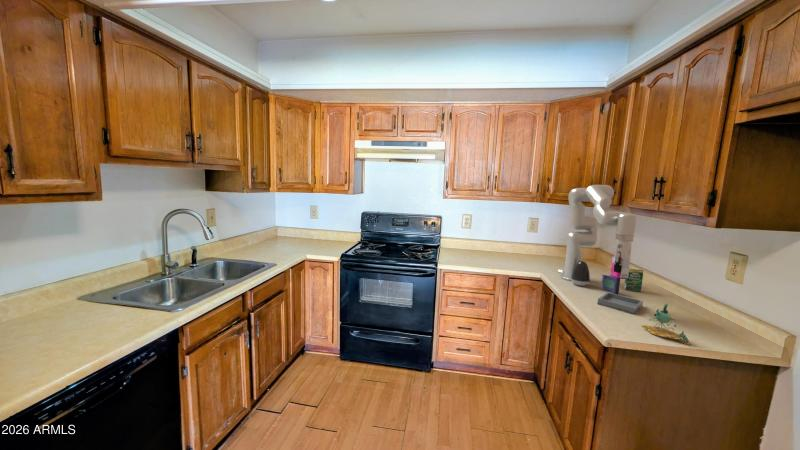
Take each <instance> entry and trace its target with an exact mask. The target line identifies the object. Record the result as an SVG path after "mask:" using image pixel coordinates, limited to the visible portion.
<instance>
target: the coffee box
mask: <svg viewBox="0 0 800 450" xmlns="http://www.w3.org/2000/svg"><path fill="white" fill-rule="evenodd" d="M643 278H644V270H643V269H635V268H629V275H628V279H624V287H623V288H624V290H625V291H630V292H638V293H642V286H643Z"/></svg>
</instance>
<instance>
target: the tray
mask: <svg viewBox="0 0 800 450" xmlns="http://www.w3.org/2000/svg"><path fill="white" fill-rule="evenodd" d="M597 305H599V306H603V307H607V308H611V309H614V310H617V311H620V312H624V313H626V314H628V313H629V314H632V315H636V314H637V313H638V312H639V310H641V308H643V305H644V300H640V299H637V298H633V297H629V296H625V295H621V294H618V295H617V294H613V293H610V292H607V291H606V293H603V295H602V296H600V297H598V299H597Z"/></svg>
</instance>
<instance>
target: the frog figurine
mask: <svg viewBox="0 0 800 450" xmlns="http://www.w3.org/2000/svg"><path fill="white" fill-rule="evenodd" d="M668 306H669V305H668V303H665V304H664V306H663V309H662V310H660V309H656V311H655V313H654V314H653V316H654V317H655V318H654V317H653V316H652V314H649V317H650V318H649V319H648V321H654V322H656V324H655V325H654V324H653V325H648V324H643V325H641V327H643V329H644V330H645V331H647V332H649V333H650V334H653V336H658V337H662V338H669V339H671V340H675V341H676V342H679V343H682V344H684V345H687V346H691V344H690V343H689V342H690V341H689V339H688V337H687V336H686V334H685V332H684V330H683V331H682V332H681V333H677V332H674V331H675V329H674V328H677V325H676V323H674V325H673V327H674V328H673V327H671V330H669V329H668V328H667V327H666V325H667V326H668V327H669V325H670V324H672V323H673V321H675V319H673V318H672V317H671V315H670V313H669V311H668V310H667V308H668ZM652 318H653V319H652ZM664 324H666V325H664ZM657 325H658V326H657Z"/></svg>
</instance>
